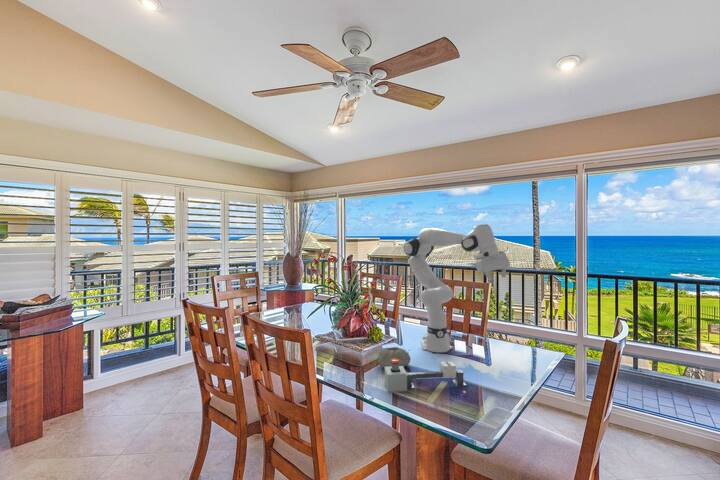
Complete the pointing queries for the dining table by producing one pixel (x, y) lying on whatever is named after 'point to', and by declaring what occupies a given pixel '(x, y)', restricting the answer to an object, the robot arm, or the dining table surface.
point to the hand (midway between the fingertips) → (497, 278)
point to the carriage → (448, 369)
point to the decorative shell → (393, 356)
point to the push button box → (395, 379)
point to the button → (395, 364)
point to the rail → (458, 379)
